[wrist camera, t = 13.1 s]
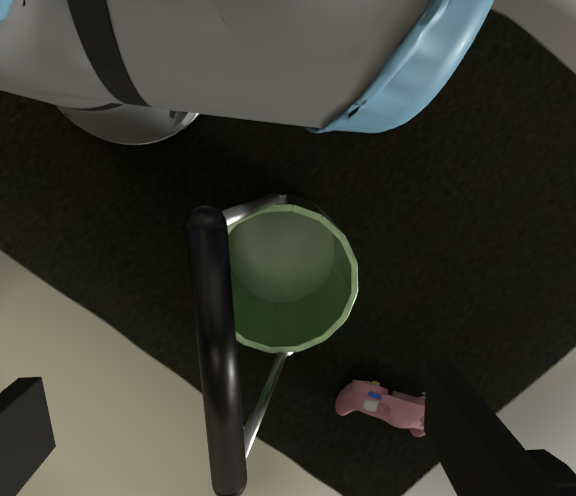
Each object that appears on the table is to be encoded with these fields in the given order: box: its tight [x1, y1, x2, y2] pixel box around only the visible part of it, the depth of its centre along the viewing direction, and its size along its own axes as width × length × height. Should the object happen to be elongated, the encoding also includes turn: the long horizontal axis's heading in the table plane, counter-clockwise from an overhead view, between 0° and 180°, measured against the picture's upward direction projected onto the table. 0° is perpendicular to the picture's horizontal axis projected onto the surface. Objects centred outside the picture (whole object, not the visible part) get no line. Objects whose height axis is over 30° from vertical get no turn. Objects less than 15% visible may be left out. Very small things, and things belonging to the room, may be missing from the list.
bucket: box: [186, 193, 358, 496], centre depth 26 cm, size 11×13×22 cm
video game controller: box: [335, 379, 425, 437], centre depth 37 cm, size 10×5×7 cm, turn 72°
